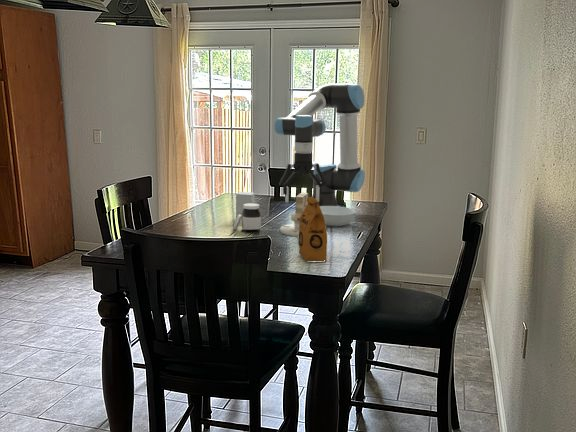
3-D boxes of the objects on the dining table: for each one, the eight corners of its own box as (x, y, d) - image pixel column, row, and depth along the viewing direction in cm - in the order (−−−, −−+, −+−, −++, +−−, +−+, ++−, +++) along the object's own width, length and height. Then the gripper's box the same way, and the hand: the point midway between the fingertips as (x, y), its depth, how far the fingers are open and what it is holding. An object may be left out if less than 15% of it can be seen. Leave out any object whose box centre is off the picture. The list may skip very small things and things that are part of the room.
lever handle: (294, 216, 254) (294, 192, 252) (313, 218, 252) (314, 193, 250) (287, 221, 243) (288, 196, 241) (308, 223, 241) (309, 197, 239)
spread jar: (262, 233, 245) (262, 206, 242) (236, 234, 242) (236, 207, 239) (255, 227, 256) (256, 201, 254) (230, 228, 253) (231, 202, 250)
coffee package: (301, 263, 202) (303, 202, 197) (296, 254, 214) (297, 196, 209) (329, 263, 203) (331, 202, 199) (322, 253, 215) (324, 196, 211)
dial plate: (327, 229, 254) (327, 218, 253) (313, 238, 238) (314, 226, 237) (289, 225, 261) (289, 214, 260) (273, 233, 244) (274, 222, 243)
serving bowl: (324, 231, 251) (325, 216, 250) (301, 221, 270) (302, 207, 268) (363, 227, 261) (364, 212, 259) (339, 218, 279) (339, 204, 278)
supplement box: (250, 221, 267) (250, 194, 264) (235, 220, 268) (235, 194, 266) (254, 218, 274) (255, 192, 272) (239, 217, 276) (240, 191, 273)
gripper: (276, 153, 236) (275, 204, 240) (334, 153, 241) (332, 202, 246) (272, 151, 243) (272, 200, 248) (328, 151, 249) (327, 199, 253)
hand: (302, 201), depth 247 cm, fingers open, 13 cm apart
